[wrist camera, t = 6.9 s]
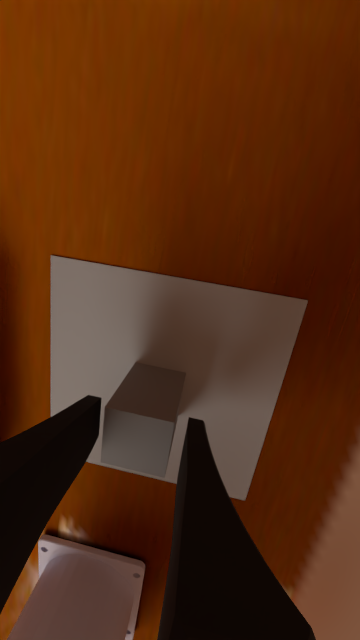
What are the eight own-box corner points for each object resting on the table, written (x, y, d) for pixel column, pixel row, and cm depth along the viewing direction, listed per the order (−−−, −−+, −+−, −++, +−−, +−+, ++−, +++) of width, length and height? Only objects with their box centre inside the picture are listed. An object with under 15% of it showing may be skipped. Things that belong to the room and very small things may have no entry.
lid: (243, 485, 16) (254, 584, 12) (59, 441, 17) (1, 515, 13) (301, 296, 13) (353, 327, 8) (62, 254, 14) (-21, 259, 9)
